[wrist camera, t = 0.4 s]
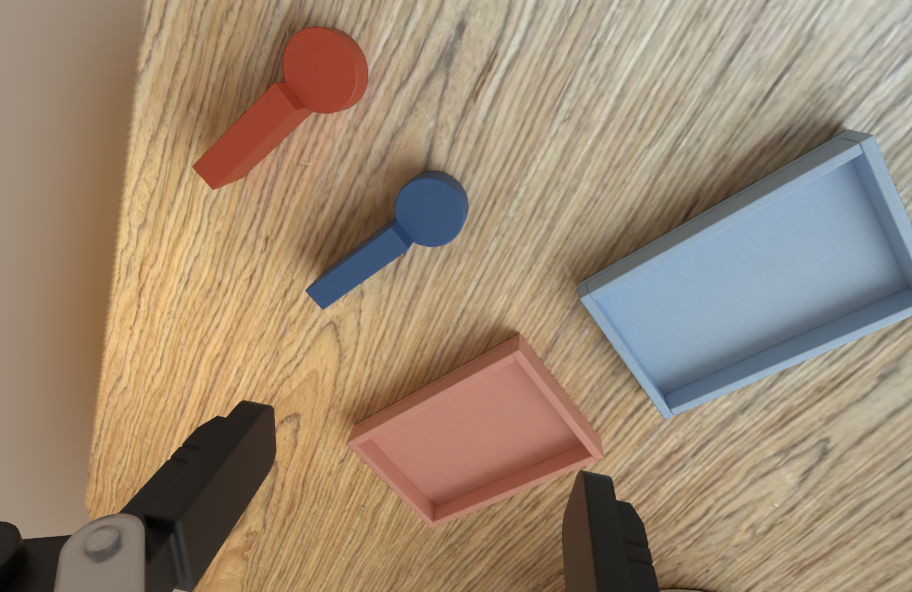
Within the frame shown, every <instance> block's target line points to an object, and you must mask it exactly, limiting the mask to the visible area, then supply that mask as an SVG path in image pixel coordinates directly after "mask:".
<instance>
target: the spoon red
mask: <svg viewBox="0 0 912 592" xmlns="http://www.w3.org/2000/svg"><path fill="white" fill-rule="evenodd" d="M282 67H283V75H284V79H285V82H279V83H273V84H272V85H271V86H270V87H269V88H268V90H267V91H266V92H265V93H264V94H263V95H262V96H261V97H260V98H259V99H258V100H257V101H256V102H255V103H254V104H253V105H252V106H251V107H250V108H249V109H248V110H247V111H246V112H245V113H244V114H243V115H242V116H241V117H240V118H239V119H238V120H237V121H236V122H235V123H234V124H233V125H232V126H231V127H230V128H229V129H228V130H227V131H226V132H225V133H224V134H223V136H222V137H221V138H220V139H219V140H218V141H217V142H216V143H215V144H214V145H213V146H212V147H211V148H210V149H209V150H208V151H207V152H206V153H205V154H204V155H203V156H202V157H201V158H200V159H199V160H198V161H197V162H196V163H195V164H194V165H193V166H192V167H193V168H194V169H195V170H196V172H197V173H198V174H199V175H200V176H201V177H202V178H203V179H204V180H205V181H206V183H207V184H208V185H209V186H210V187H211V188H212V189H213V190H215V189H217V188H219V187H222V186H224V185H227V184H229V183H232V182H234V181H237V180H239V179H242V178H243V177H244V176H245V175H246V174H247V173H248V172H249V171H250V170H252V169H253V168H254V167H255V166H256V165H257V164H258V163H259V162H260V161H261V160H262V159H263V158H264V157H265V156H266V155H267V154H268V153H270V152H271V151H272V150H273V149H274V148H275V147H276V146H277V145H278V144H279V143H280V142H281V141H282V140H283V139H284V138H285V137H286V136H288V135H289V134H290V133H291V132H292V131H293V130H294V129H295V128H296V127H297V126H298V125H299V124H300V123H301V122H302V121H303V120H305V119H306V118H307V117H308V116H309V115H310V114H311V113H312V112H313V111H314V112H317V113H323V114H328V113H334V112H338V111H341V110H345V109H348V108H350V107H352V106H353V105H355V104H356V103H357V102H358V101H359V100H360V99H361V97H362V96H363V94H364V92H365V89H366V86H367V82H368V68H367V63H366V59H365V56H364V54H363V52H362V50H361V49H360V47H359V45H358V44H357V43H356V42H355V41H354V40H353V39H352V38H351V37H350V36H348V35H347V34H345V33H344V32H342V31H339V30H336V29H330V28H324V27H308V28H305V29H302V30H300V31H299V32H297V33H296V34H295V35H294V36H293V37H292V38H291V39H290V40H289V42H288V44H287V46H286V48H285V51H284V54H283V63H282Z"/></svg>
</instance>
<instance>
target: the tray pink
mask: <svg viewBox="0 0 912 592" xmlns="http://www.w3.org/2000/svg"><path fill="white" fill-rule="evenodd" d="M347 444H348V445H349V446H350V447H351V448H352V449H353V451H354V452H355V453H356V454H357V455H358V456H359V457H360V458H361V459H362V460H363V461H364V462H365V463H366V464H367V465H368V466H369V467H370V468H371V469H372V470H373V471H374V472H375V473H376V474H377V475H378V476H379V477H380V478H381V479H382V480H383V481H384V482H385V483H386V484H387V485H388V486H389V487H390V488H391V489H392V490H393V491H394V492H395V493H396V494H397V495H398V496H399V497H400V498H401V499H402V500H403V501H404V502H405V503H406V504H407V505H408V506H409V507H410V508H411V509H412V510H413V511H414V512H415V513H416V514H417V515H418V516H419V517H420V518H421V519H422V520H423V521H424V522H425V523H426V524H427V525H428V526H429V527H430V528H431V529H432V528H435V527H437V526H440V525H442V524H444V523H447V522H449V521H452V520H454V519H457V518H459V517H462V516H464V515H466V514H469V513H471V512H474V511H476V510H479V509H481V508H484V507H486V506H488V505H491V504H493V503H496V502H498V501H501V500H503V499H506V498H508V497H510V496H513V495H515V494H518V493H520V492H523V491H525V490H528V489H530V488H532V487H535V486H537V485H540V484H542V483H545V482H547V481H550V480H552V479H554V478H557V477H559V476H562V475H564V474H567V473H569V472H572V471H574V470H576V469H579V468H581V467H584V466H586V465H589V464H591V463H594V462H596V461H599V460H601V459H604V455H603V449H602V444H601V438H600V437H599V435H598V434H597V433H596V431H595V430H594V429H593V427H592V426H591V425H590V424H589V422H588V421H587V420H586V418H585V417H584V416H583V415H582V413H581V412H580V411H579V409H578V408H577V407H576V406H575V404H574V403H573V402H572V400H571V399H570V398H569V396H568V395H567V394H566V393H565V391H564V390H563V389H562V387H561V386H560V385H559V384H558V382H557V381H556V380H555V378H554V377H553V376H552V375H551V373H550V372H549V371H548V369H547V368H546V367H545V365H544V364H543V363H542V362H541V360H540V359H539V358H538V356H537V355H536V354H535V353H534V351H533V350H532V349H531V347H530V346H529V345H528V343H527V342H526V341H525V340H524V338H523V337H522V336H521V334H518V335H516V336H514V337H512V338H511V339H509V340H507V341H505V342H503V343H502V344H500V345H498V346H496V347H494V348H493V349H491V350H489V351H487V352H485V353H484V354H482V355H480V356H478V357H476V358H475V359H473V360H471V361H469V362H467V363H466V364H464V365H462V366H460V367H458V368H457V369H455V370H453V371H451V372H449V373H448V374H446V375H444V376H442V377H440V378H439V379H437V380H435V381H433V382H431V383H430V384H428V385H426V386H424V387H423V388H421V389H419V390H417V391H415V392H414V393H412V394H410V395H408V396H406V397H405V398H403V399H401V400H399V401H397V402H396V403H394V404H392V405H390V406H388V407H387V408H385V409H383V410H381V411H379V412H378V413H376V414H374V415H372V416H370V417H369V418H367V419H365V420H363V421H361V422H360V423H358V424H356V425H355V426H354V428H353V430H352V432H351V434H350V436H349V438H348V441H347Z"/></svg>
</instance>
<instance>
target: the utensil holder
mask: <svg viewBox="0 0 912 592" xmlns="http://www.w3.org/2000/svg"><path fill="white" fill-rule="evenodd" d="M659 591H660V592H703V591H696V590H683V589H668V590H659Z"/></svg>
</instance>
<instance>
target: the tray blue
mask: <svg viewBox="0 0 912 592" xmlns="http://www.w3.org/2000/svg"><path fill="white" fill-rule="evenodd" d="M577 288H578V293H579V299H580V300H581V302H582V303H583V305H584V306H585V308H586V309H587V310H588V312H589V313H590V315H591V316H592V317H593V319H594V320H595V322H596V323H597V324H598V326H599V327H600V329H601V330H602V332H603V333H604V334H605V336H606V337H607V339H608V340H609V341H610V343H611V344H612V346H613V347H614V348H615V350H616V351H617V353H618V354H619V356H620V357H621V358H622V360H623V361H624V363H625V364H626V365H627V367H628V368H629V370H630V371H631V373H632V374H633V375H634V377H635V378H636V380H637V381H638V382H639V384H640V385H641V387H642V388H643V389H644V391H645V392H646V394H647V395H648V397H649V398H650V399H651V401H652V402H653V404H654V405H655V406H656V408H657V409H658V411H659V412H660V413H661V415H662V416H663V418H664V419H667V418H670V417H672V416H673V415H677V414H679V413H682V412H684V411H686V410H689V409H691V408H694V407H696V406H698V405H701V404H703V403H705V402H708V401H710V400H713V399H715V398H717V397H720V396H722V395H724V394H727V393H729V392H732V391H734V390H736V389H739V388H741V387H744V386H746V385H748V384H751V383H753V382H755V381H758V380H760V379H763V378H765V377H767V376H770V375H772V374H774V373H777V372H779V371H782V370H784V369H786V368H789V367H791V366H793V365H796V364H798V363H801V362H803V361H805V360H808V359H810V358H813V357H815V356H817V355H820V354H822V353H824V352H827V351H829V350H832V349H834V348H836V347H839V346H841V345H843V344H846V343H848V342H851V341H853V340H855V339H858V338H860V337H862V336H865V335H867V334H870V333H872V332H874V331H877V330H879V329H882V328H884V327H886V326H889V325H891V324H893V323H896V322H898V321H901V320H903V319H905V318H908V317H910V316H912V224H911V222H910V219H909V217H908V215H907V212H906V210H905V208H904V206H903V203H902V201H901V199H900V196H899V194H898V192H897V189H896V187H895V185H894V182H893V180H892V178H891V175H890V173H889V171H888V168H887V166H886V164H885V161H884V159H883V157H882V155H881V152H880V150H879V148H878V145H877V143H876V141H875V138H874V136H873V135H871V134H866V133H862V132H857V131H853V130H849V129H848V130H846V131H844V132H843V133H841V134H839V135H837V136H836V137H834V138H832V139H830V140H829V141H827V142H825V143H823V144H822V145H820V146H818V147H816V148H815V149H813V150H811V151H809V152H808V153H806V154H804V155H802V156H801V157H799V158H797V159H795V160H794V161H792V162H790V163H788V164H787V165H785V166H783V167H781V168H780V169H778V170H776V171H774V172H773V173H771V174H769V175H767V176H766V177H764V178H762V179H760V180H759V181H757V182H755V183H753V184H752V185H750V186H748V187H746V188H745V189H743V190H741V191H739V192H738V193H736V194H734V195H732V196H731V197H729V198H727V199H725V200H724V201H722V202H720V203H718V204H717V205H715V206H713V207H711V208H710V209H708V210H706V211H704V212H703V213H701V214H699V215H697V216H696V217H694V218H692V219H690V220H689V221H687V222H685V223H683V224H682V225H680V226H678V227H676V228H675V229H673V230H671V231H669V232H668V233H666V234H664V235H662V236H661V237H659V238H657V239H655V240H654V241H652V242H650V243H648V244H647V245H645V246H643V247H641V248H640V249H638V250H636V251H634V252H633V253H631V254H629V255H627V256H626V257H624V258H622V259H620V260H619V261H617V262H615V263H613V264H612V265H610V266H608V267H606V268H605V269H603V270H601V271H599V272H598V273H596V274H594V275H592V276H591V277H589V278H587V279H585V280H584V281H582V282H580V283H578V284H577Z"/></svg>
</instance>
